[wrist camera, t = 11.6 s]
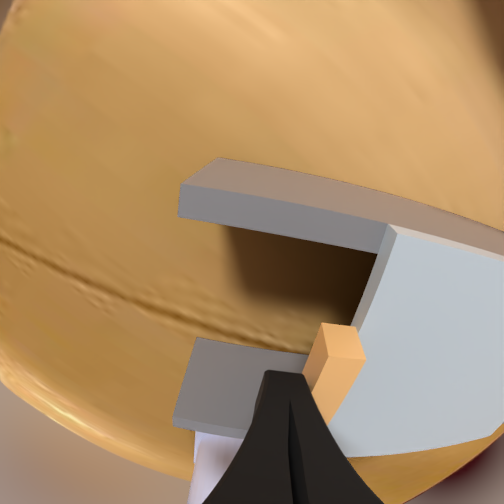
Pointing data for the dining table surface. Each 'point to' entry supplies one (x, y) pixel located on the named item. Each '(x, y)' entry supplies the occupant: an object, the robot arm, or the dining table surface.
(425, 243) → the lid
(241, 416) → the housing
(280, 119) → the dining table surface
